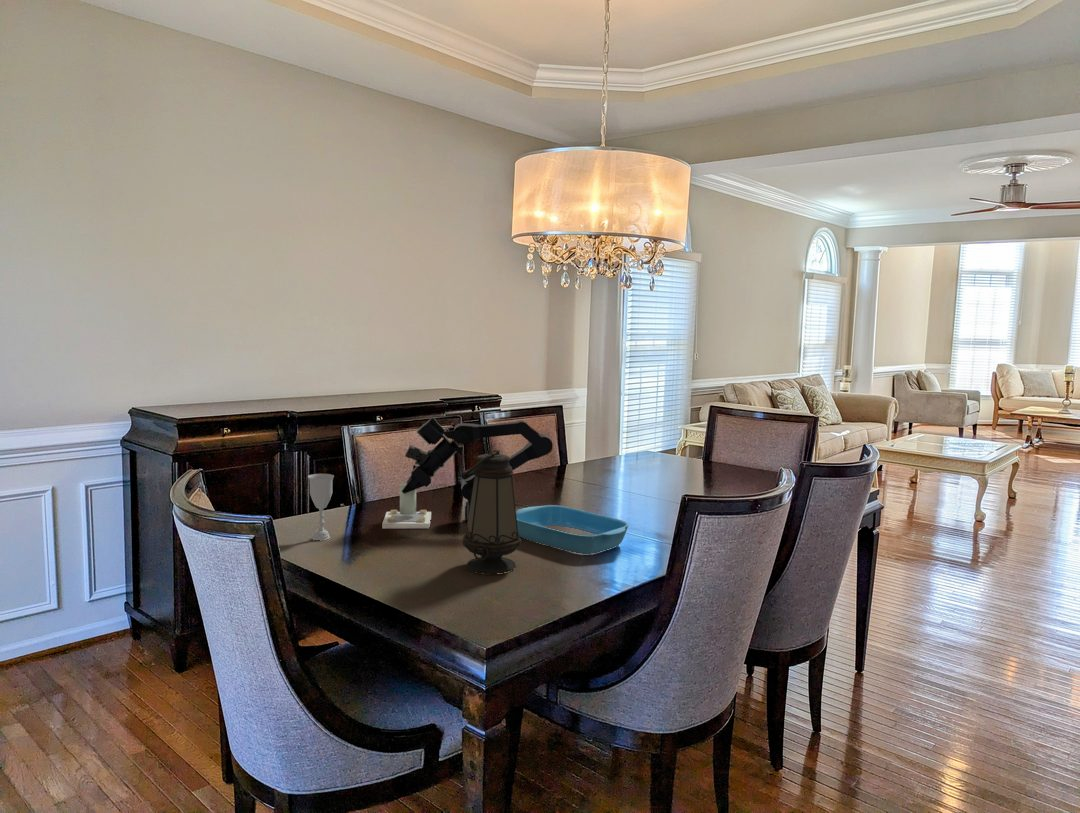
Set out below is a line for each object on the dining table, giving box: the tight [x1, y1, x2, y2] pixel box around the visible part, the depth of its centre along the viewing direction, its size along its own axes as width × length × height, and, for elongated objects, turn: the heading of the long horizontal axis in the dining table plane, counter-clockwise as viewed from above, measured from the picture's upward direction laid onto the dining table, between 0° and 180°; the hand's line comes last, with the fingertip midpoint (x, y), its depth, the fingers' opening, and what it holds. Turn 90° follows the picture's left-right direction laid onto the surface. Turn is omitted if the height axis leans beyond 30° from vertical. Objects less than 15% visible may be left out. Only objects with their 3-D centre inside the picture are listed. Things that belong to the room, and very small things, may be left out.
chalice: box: [307, 473, 335, 542], centre depth 205 cm, size 7×7×18 cm
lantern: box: [460, 449, 522, 574], centre depth 185 cm, size 18×15×30 cm
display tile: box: [381, 509, 432, 529], centre depth 225 cm, size 14×14×2 cm
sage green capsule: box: [399, 482, 417, 515], centre depth 225 cm, size 5×5×9 cm
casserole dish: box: [516, 504, 629, 554], centre depth 210 cm, size 37×22×7 cm, turn 47°
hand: (403, 490), depth 224 cm, fingers closed on sage green capsule, 5 cm apart
